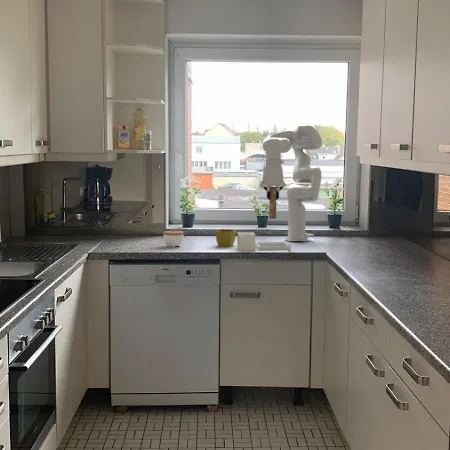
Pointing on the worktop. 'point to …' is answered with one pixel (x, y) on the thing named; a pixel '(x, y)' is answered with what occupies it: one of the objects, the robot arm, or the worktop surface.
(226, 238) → the flower pot
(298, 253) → the worktop surface
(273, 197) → the dowel
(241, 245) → the white square holder
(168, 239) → the lidded jar
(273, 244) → the tray
